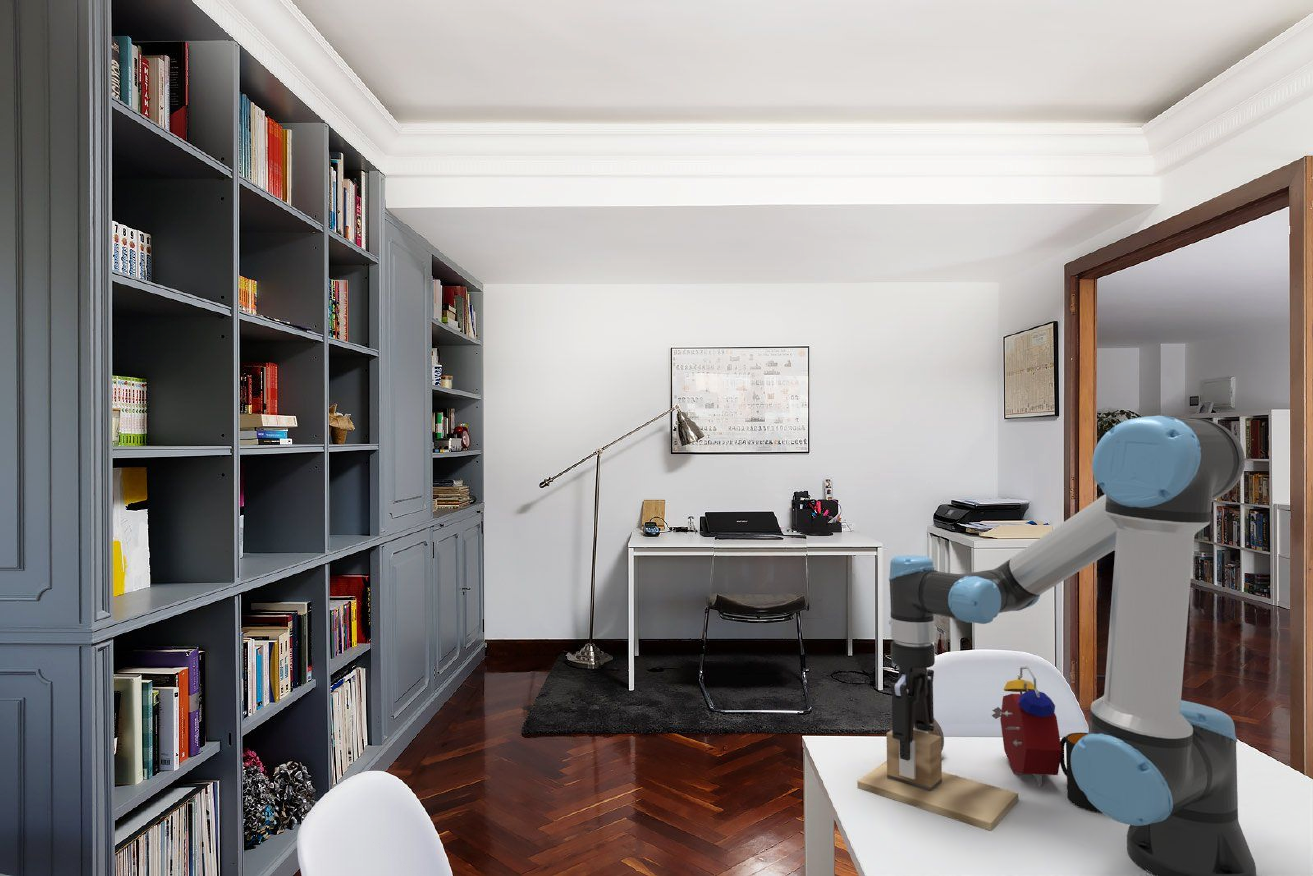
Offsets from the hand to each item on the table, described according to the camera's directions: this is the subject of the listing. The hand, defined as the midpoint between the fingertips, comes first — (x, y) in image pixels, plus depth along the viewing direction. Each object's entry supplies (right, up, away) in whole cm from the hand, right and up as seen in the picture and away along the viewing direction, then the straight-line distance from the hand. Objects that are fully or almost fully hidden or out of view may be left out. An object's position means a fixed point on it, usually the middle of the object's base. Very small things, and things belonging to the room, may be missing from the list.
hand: (914, 771), depth 131 cm
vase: (+7, -3, +14) cm, 16 cm away
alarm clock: (+22, -3, +5) cm, 23 cm away
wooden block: (0, -2, 0) cm, 2 cm away
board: (+3, -3, -3) cm, 5 cm away
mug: (+28, -3, -5) cm, 29 cm away
